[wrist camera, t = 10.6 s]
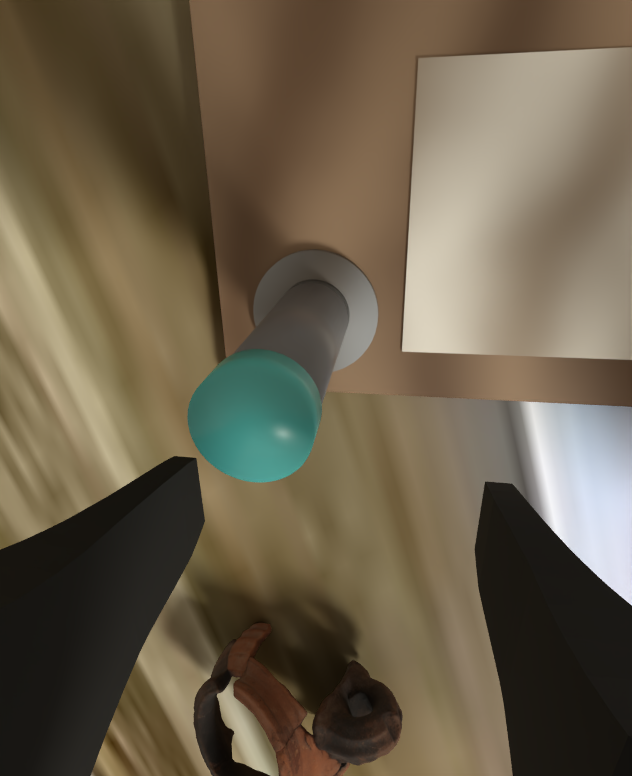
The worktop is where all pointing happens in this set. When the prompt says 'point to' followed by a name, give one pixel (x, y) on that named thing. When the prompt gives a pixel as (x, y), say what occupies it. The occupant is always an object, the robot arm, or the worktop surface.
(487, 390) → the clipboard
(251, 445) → the marker
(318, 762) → the reddish-brown lumpy part
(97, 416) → the worktop surface
